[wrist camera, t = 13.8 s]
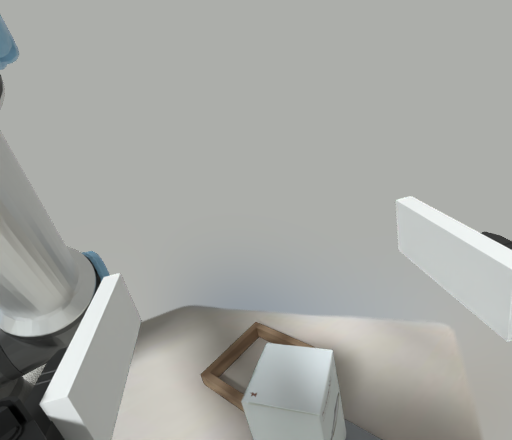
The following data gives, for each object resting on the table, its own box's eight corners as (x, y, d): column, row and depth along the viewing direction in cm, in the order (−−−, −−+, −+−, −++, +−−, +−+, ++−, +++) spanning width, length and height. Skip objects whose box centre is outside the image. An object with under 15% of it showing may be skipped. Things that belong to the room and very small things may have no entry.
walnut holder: (204, 384, 51) (200, 374, 50) (258, 330, 59) (255, 321, 58) (267, 428, 42) (264, 417, 42) (320, 359, 50) (318, 349, 50)
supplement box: (339, 508, 32) (320, 417, 27) (266, 486, 35) (237, 401, 30) (349, 432, 38) (334, 348, 33) (286, 419, 41) (264, 340, 36)
